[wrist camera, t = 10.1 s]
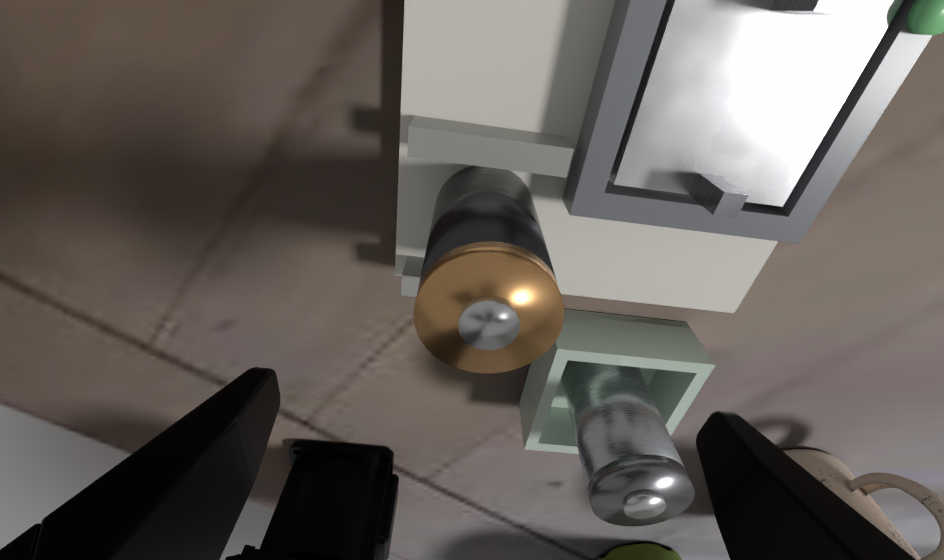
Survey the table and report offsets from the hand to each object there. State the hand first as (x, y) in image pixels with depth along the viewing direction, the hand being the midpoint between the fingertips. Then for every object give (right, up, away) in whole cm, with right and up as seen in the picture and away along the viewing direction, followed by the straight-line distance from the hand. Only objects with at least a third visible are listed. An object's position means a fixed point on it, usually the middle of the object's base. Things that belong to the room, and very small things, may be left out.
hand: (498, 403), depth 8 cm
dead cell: (+6, -2, +14) cm, 15 cm away
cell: (0, +5, +8) cm, 10 cm away
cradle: (+8, +9, +5) cm, 13 cm away
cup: (+6, -2, +14) cm, 16 cm away
